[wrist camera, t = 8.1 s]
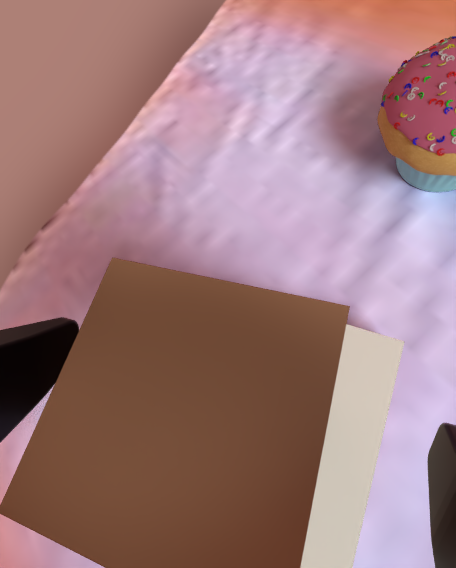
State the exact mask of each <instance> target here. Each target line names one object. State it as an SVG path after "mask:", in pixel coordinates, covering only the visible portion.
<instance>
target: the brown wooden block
mask: <svg viewBox="0 0 456 568" xmlns="http://www.w3.org/2000/svg"><path fill="white" fill-rule="evenodd" d="M349 308H350V306H346V305H341V304H336V303H331V302H326V301H321V300H316V299H312V298H307V297H302V296H297V295H292V294H287V293H282V292H278V291H273V290H268V289H263V288H258V287H253V286H248V285H244V284H239V283H234V282H229V281H224V280H219V279H214V278H210V277H205V276H200V275H195V274H190V273H185V272H180V271H176V270H171V269H166V268H161V267H156V266H151V265H146V264H142V263H137V262H132V261H127V260H122V259H117V258H112V259H111V262H110V264H109V266H108V268H107V270H106V273H105V275H104V277H103V279H102V281H101V284H100V286H99V288H98V290H97V293H96V295H95V297H94V299H93V301H92V304H91V306H90V308H89V310H88V312H87V315H86V317H85V319H84V321H83V324H82V326H81V328H80V330H79V332H78V335H77V337H76V339H75V341H74V343H73V346H72V348H71V350H70V352H69V355H68V357H67V359H66V361H65V363H64V366H63V368H62V370H61V372H60V374H59V377H58V379H57V381H56V383H55V386H54V388H53V390H52V392H51V394H50V397H49V399H48V401H47V403H46V405H45V408H44V410H43V412H42V414H41V417H40V419H39V421H38V423H37V425H36V428H35V430H34V432H33V434H32V436H31V439H30V441H29V443H28V445H27V448H26V450H25V452H24V454H23V456H22V459H21V461H20V463H19V465H18V467H17V470H16V472H15V474H14V476H13V479H12V481H11V483H10V485H9V487H8V490H7V492H6V494H5V496H4V498H3V501H2V503H1V505H0V514H2V515H4V516H6V517H8V518H10V519H12V520H14V521H15V522H17V523H19V524H21V525H23V526H25V527H27V528H29V529H31V530H33V531H35V532H37V533H39V534H41V535H43V536H45V537H47V538H49V539H51V540H53V541H55V542H56V543H58V544H60V545H62V546H64V547H66V548H68V549H70V550H72V551H74V552H76V553H78V554H80V555H82V556H84V557H86V558H88V559H90V560H92V561H94V562H96V563H98V564H99V565H101V566H103V567H105V568H300V567H301V562H302V556H303V551H304V546H305V540H306V535H307V530H308V525H309V519H310V514H311V509H312V503H313V498H314V493H315V488H316V482H317V477H318V472H319V466H320V461H321V456H322V451H323V445H324V440H325V435H326V429H327V424H328V419H329V414H330V408H331V403H332V398H333V392H334V387H335V382H336V377H337V371H338V366H339V361H340V355H341V350H342V345H343V340H344V334H345V329H346V324H347V318H348V313H349Z"/></svg>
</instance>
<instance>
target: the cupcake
mask: <svg viewBox="0 0 456 568" xmlns="http://www.w3.org/2000/svg"><path fill="white" fill-rule="evenodd" d="M450 38H451V39H450ZM452 38H453V39H452ZM445 40H446V41H445ZM417 53H418V54H417ZM417 53H416V55H415V57H414V56H413V57H412V58H411V59H410V60H408V62H407V60H405V61H404V62H403V63H402V65H401V67H400V68H399V69H398V71H397V73H396V74H395V76H392V77H391V78H390V79H389V84H388V86H387V87H386V89H385V90H384V92H383V96H382V103H381V108H380V111H379V114H378V125H379V129H380V132H381V134H382V137H383V140H384V143H385V146H386V148H387V150H388V151H389V153H390V154H392V155H393V156H395V157H396V166H397V169H398V172H399V173H400V175H401V176H402V178H403V179H404V180H405V181H406V182H408V183H409V184H410V185H412V186H414V187H416V188H418V189H421V190H425V191H429V192H447V191H452V190H455V189H456V37H455V36H451V37H449V38H448V39H447V38H445V39H443V40H441V41H440V42H439V43H436V44H433V46H431V47H429V48H427V49H425V50H423V51H422V52H420V53H419V51H418V52H417ZM405 63H406V64H405ZM390 80H391V81H390Z"/></svg>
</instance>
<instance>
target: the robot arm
mask: <svg viewBox="0 0 456 568" xmlns="http://www.w3.org/2000/svg"><path fill="white" fill-rule="evenodd" d="M78 332H79V326H78V324H77V322H76V321H75V320H72V319H68V318H64V317H61V318H56V319H51V320H47V321H42V322H37V323H32V324H28V325H23V326H18V327H14V328H9V329H4V330H0V443H1V442H2V440H3V439H4V438H5V437H6V436H7V435H8V434H9V433H10V432H11V431H12V430H13V429H14V428H15V427H16V426H17V425H18V424H19V423H20V422H21V421H22V420H23V419H24V418H25V417H26V416H27V414H28V413H29V412H30V411H31V410H32V409H33V408H34V407H35V406H36V405H37V404H38V403H39V402H40V401H41V400H42V399H43V397H44V396H45V395H46V394H47V393H48V392H49V390H50V389H51V388H52V387H53V385H54V384H55V383H56V381H57V379H58V377H59V374H60V372H61V370H62V368H63V366H64V363H65V361H66V359H67V357H68V355H69V352H70V350H71V348H72V346H73V343H74V341H75V339H76V337H77V335H78ZM428 483H429V504H430V526H431V541H432V548H433V555H434V562H435V568H456V425H453V424H449V423H442V424H441V425H440V427H439V429H438V431H437V433H436V436H435V438H434V441H433V443H432V446H431V448H430V451H429V454H428Z"/></svg>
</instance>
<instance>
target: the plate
mask: <svg viewBox="0 0 456 568" xmlns="http://www.w3.org/2000/svg"><path fill="white" fill-rule="evenodd" d="M403 345H404V341H401V340H397V339H394V338H391V337H387V336H384V335H381V334H377V333H374V332H371V331H368V330H364V329H361V328H358V327H354V326H351V325H348V324H346V329H345V334H344V340H343V345H342V350H341V355H340V361H339V366H338V371H337V377H336V382H335V387H334V392H333V398H332V403H331V408H330V414H329V419H328V424H327V429H326V435H325V440H324V445H323V451H322V456H321V461H320V466H319V472H318V477H317V482H316V488H315V493H314V498H313V503H312V509H311V514H310V519H309V525H308V530H307V535H306V540H305V546H304V551H303V556H302V562H301V567H300V568H352V566H353V562H354V557H355V553H356V549H357V544H358V540H359V536H360V531H361V527H362V523H363V518H364V514H365V510H366V505H367V501H368V497H369V492H370V488H371V484H372V479H373V475H374V471H375V466H376V462H377V458H378V453H379V449H380V445H381V440H382V436H383V432H384V428H385V423H386V419H387V415H388V410H389V406H390V402H391V397H392V393H393V389H394V384H395V380H396V376H397V371H398V367H399V363H400V358H401V354H402V350H403Z"/></svg>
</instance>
